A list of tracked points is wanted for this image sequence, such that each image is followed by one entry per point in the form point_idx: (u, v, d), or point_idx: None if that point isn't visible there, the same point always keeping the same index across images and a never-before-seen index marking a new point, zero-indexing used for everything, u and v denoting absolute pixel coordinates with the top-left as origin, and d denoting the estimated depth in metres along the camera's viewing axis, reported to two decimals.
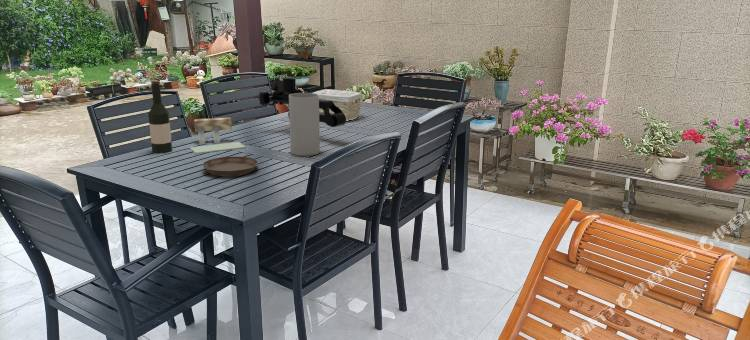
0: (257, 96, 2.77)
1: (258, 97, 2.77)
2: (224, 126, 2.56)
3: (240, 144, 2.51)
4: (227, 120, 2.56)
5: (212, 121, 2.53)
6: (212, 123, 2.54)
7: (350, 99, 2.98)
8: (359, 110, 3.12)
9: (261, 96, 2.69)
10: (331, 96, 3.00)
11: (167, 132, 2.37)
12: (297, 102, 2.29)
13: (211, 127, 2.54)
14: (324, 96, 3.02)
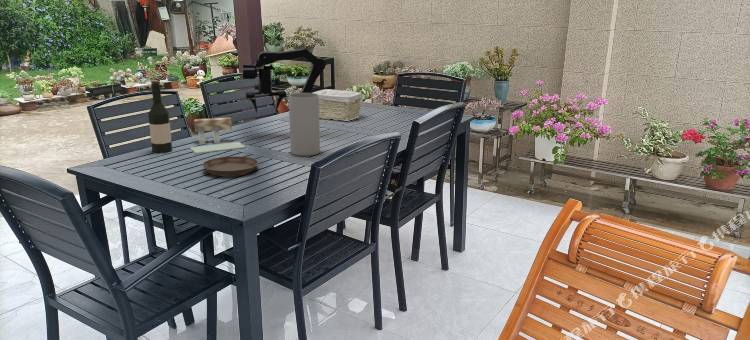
0: (255, 111, 2.62)
1: (255, 109, 2.61)
2: (224, 126, 2.56)
3: (240, 144, 2.51)
4: (227, 120, 2.56)
5: (212, 121, 2.53)
6: (212, 123, 2.54)
7: (350, 99, 2.98)
8: (359, 110, 3.12)
9: (245, 94, 2.59)
10: (331, 96, 3.00)
11: (167, 132, 2.37)
12: (297, 102, 2.29)
13: (211, 127, 2.54)
14: (324, 96, 3.02)
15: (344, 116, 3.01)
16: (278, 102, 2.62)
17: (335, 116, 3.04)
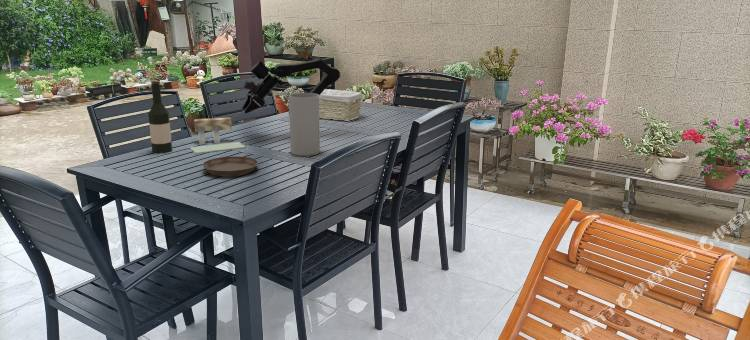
0: (245, 112, 2.54)
1: (247, 111, 2.54)
2: (224, 126, 2.56)
3: (240, 144, 2.51)
4: (227, 120, 2.56)
5: (212, 121, 2.53)
6: (212, 123, 2.54)
7: (351, 99, 2.98)
8: (359, 110, 3.12)
9: (257, 98, 2.50)
10: (331, 96, 3.00)
11: (167, 132, 2.37)
12: (297, 102, 2.29)
13: (211, 127, 2.54)
14: (324, 96, 3.02)
15: (344, 116, 3.01)
16: None
17: (335, 116, 3.04)
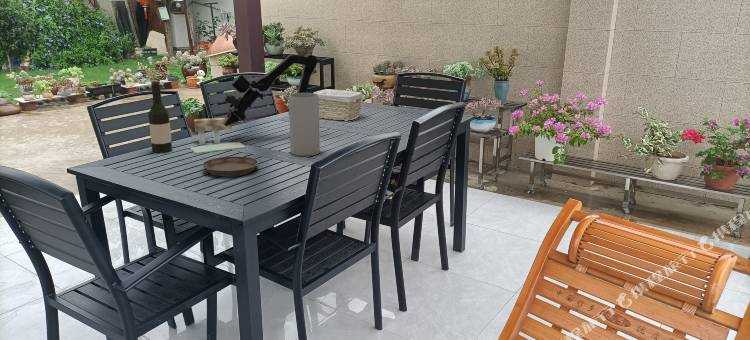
0: (225, 124, 2.55)
1: (227, 123, 2.55)
2: (224, 126, 2.56)
3: (240, 144, 2.51)
4: None
5: (212, 121, 2.53)
6: (212, 123, 2.54)
7: (351, 99, 2.99)
8: None
9: (237, 112, 2.49)
10: (332, 96, 3.01)
11: (167, 132, 2.37)
12: (297, 102, 2.29)
13: (212, 127, 2.54)
14: (325, 96, 3.03)
15: (345, 116, 3.02)
16: None
17: (336, 116, 3.04)
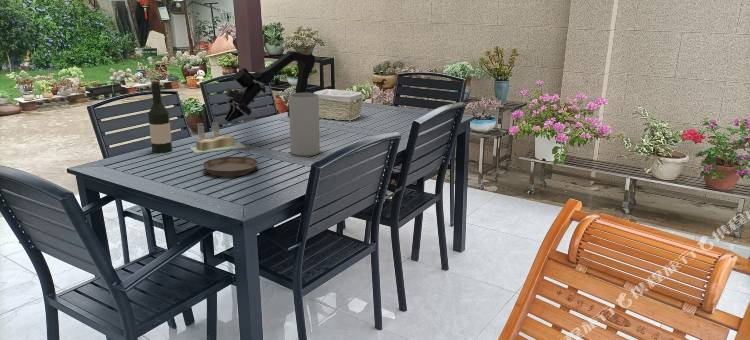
0: (228, 120, 2.43)
1: (230, 119, 2.44)
2: (225, 137, 2.49)
3: (240, 144, 2.51)
4: None
5: (212, 138, 2.47)
6: (213, 138, 2.46)
7: (351, 99, 2.99)
8: (360, 110, 3.12)
9: (243, 107, 2.38)
10: (332, 96, 3.01)
11: (167, 132, 2.37)
12: (297, 102, 2.29)
13: (215, 139, 2.45)
14: (325, 96, 3.03)
15: (345, 116, 3.02)
16: None
17: (336, 116, 3.04)
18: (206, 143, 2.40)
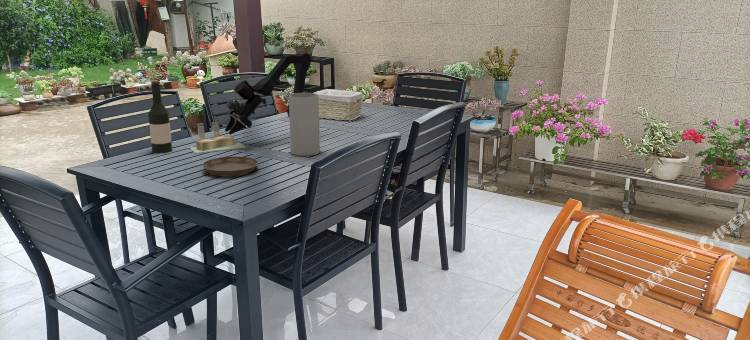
0: (229, 133, 2.44)
1: (232, 132, 2.44)
2: (225, 137, 2.49)
3: (240, 144, 2.51)
4: None
5: (212, 138, 2.47)
6: (213, 138, 2.46)
7: (352, 99, 2.99)
8: (360, 110, 3.13)
9: (244, 119, 2.39)
10: (333, 96, 3.01)
11: (167, 132, 2.37)
12: (297, 102, 2.29)
13: (215, 139, 2.45)
14: (326, 96, 3.03)
15: (345, 116, 3.02)
16: None
17: (336, 116, 3.04)
18: (206, 143, 2.40)
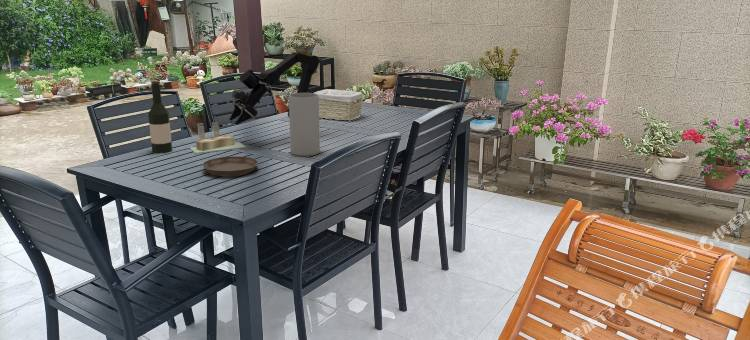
0: (236, 123, 2.43)
1: (238, 122, 2.43)
2: (225, 137, 2.49)
3: (240, 144, 2.51)
4: None
5: (212, 138, 2.47)
6: (213, 138, 2.46)
7: (352, 99, 2.99)
8: (360, 110, 3.13)
9: (250, 108, 2.39)
10: (333, 96, 3.01)
11: (167, 132, 2.37)
12: (297, 102, 2.29)
13: (215, 139, 2.45)
14: (326, 96, 3.03)
15: (345, 116, 3.02)
16: None
17: (336, 116, 3.04)
18: (206, 143, 2.40)
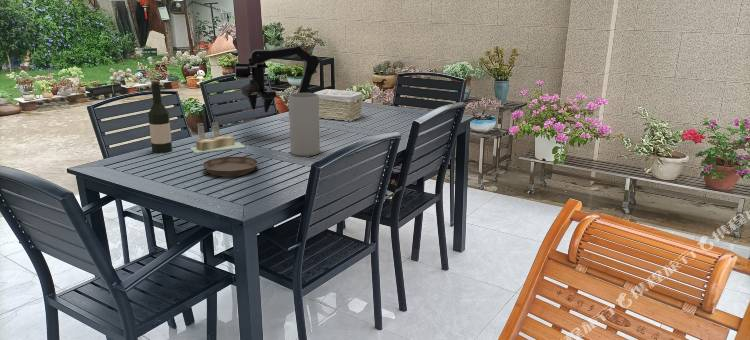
0: (266, 111, 2.58)
1: (267, 109, 2.58)
2: (225, 137, 2.49)
3: (240, 144, 2.51)
4: None
5: (212, 138, 2.47)
6: (213, 138, 2.46)
7: (352, 99, 2.99)
8: (360, 110, 3.12)
9: (269, 94, 2.53)
10: (333, 96, 3.01)
11: (167, 132, 2.37)
12: (297, 102, 2.29)
13: (215, 139, 2.45)
14: (326, 96, 3.02)
15: (346, 116, 3.02)
16: None
17: (337, 116, 3.04)
18: (206, 143, 2.40)
